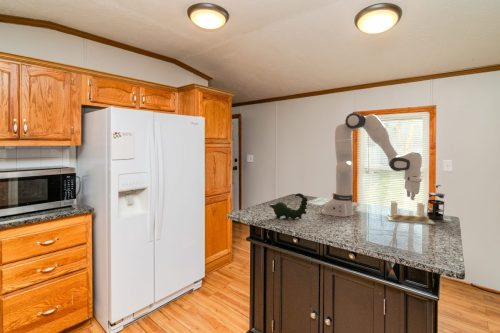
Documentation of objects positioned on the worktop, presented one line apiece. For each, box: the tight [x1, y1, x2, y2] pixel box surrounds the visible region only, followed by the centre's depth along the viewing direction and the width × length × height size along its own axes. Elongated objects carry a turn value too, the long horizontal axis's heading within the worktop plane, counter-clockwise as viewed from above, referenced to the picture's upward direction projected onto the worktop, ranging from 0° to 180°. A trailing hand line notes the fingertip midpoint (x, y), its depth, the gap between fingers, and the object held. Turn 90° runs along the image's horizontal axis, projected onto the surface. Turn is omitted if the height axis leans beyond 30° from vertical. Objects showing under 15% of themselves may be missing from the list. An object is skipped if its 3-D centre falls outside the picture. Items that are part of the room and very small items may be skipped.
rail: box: [393, 213, 430, 222], centre depth 173 cm, size 20×3×3 cm, turn 72°
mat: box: [386, 216, 436, 225], centre depth 174 cm, size 26×8×1 cm, turn 72°
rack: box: [388, 200, 426, 217], centre depth 182 cm, size 22×5×10 cm, turn 72°
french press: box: [426, 184, 446, 222], centre depth 177 cm, size 12×9×23 cm
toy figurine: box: [269, 192, 308, 220], centre depth 180 cm, size 9×19×25 cm
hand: (410, 198), depth 172 cm, fingers open, 8 cm apart
